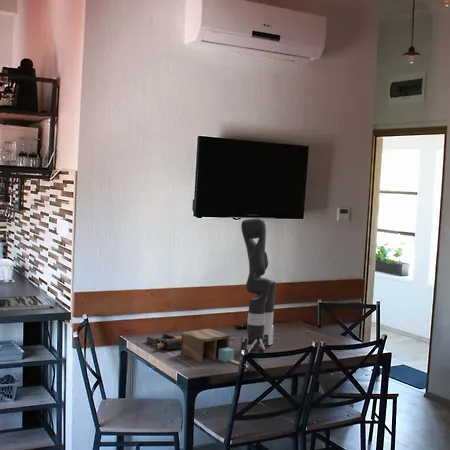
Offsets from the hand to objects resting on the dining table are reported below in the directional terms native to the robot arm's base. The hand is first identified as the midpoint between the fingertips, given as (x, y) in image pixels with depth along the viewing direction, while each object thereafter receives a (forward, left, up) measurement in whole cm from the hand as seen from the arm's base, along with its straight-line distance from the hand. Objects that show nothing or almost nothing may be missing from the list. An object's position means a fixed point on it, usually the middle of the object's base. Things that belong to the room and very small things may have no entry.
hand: (253, 359), depth 273 cm
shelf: (+4, -29, -5) cm, 30 cm away
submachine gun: (+5, -54, -6) cm, 54 cm away
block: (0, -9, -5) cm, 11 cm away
